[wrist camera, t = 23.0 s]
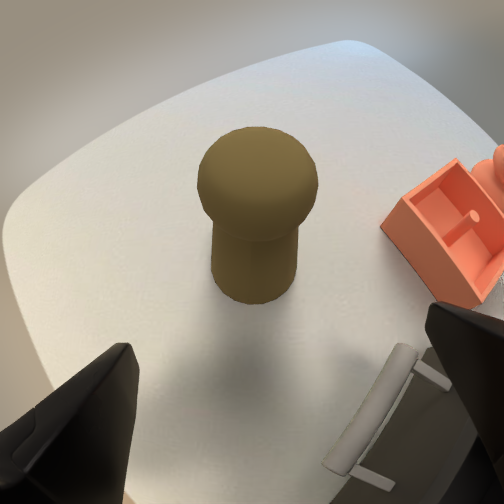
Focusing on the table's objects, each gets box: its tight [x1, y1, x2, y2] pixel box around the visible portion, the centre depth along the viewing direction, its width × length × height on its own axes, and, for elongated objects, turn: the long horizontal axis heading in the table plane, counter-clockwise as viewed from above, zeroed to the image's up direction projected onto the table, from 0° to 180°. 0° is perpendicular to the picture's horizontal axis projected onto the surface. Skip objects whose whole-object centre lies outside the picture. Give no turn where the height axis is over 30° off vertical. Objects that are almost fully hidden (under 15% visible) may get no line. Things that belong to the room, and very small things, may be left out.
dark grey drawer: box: [321, 343, 504, 504], centre depth 11 cm, size 18×13×8 cm
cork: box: [197, 127, 318, 304], centre depth 16 cm, size 6×6×11 cm
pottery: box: [380, 144, 504, 309], centre depth 19 cm, size 18×10×10 cm, turn 123°
